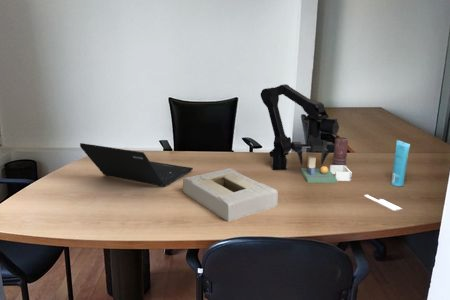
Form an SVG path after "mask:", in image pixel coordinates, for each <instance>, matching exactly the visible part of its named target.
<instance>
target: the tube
mask: <svg viewBox="0 0 450 300" xmlns="http://www.w3.org/2000/svg"><path fill="white" fill-rule="evenodd" d="M395 145H396V146H395V153H394V159H393V160H394V161H393V167H392V173H391V174H392V175H391V185H392V186H395V187H402V186H404V184H405V177H406V170H407V165H408V164H407V163H408V159H409V152H410V148H411V144H410V143H407V142H404V141H402V140H398V139H396V143H395Z"/></svg>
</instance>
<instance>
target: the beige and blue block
mask: <svg viewBox="0 0 450 300" xmlns="http://www.w3.org/2000/svg"><path fill="white" fill-rule="evenodd" d="M316 159H317V157H316V156H315V155H308V157H307V168H308V172H309V173H310V175H314V171H315V169H314V168H316V163H317V162H316V161H317V160H316Z"/></svg>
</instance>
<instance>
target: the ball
mask: <svg viewBox="0 0 450 300" xmlns="http://www.w3.org/2000/svg"><path fill="white" fill-rule="evenodd" d="M328 169H329V168H328V167H327V166H326V165H324V166H323V165H322V166H321V167H320V172H321V173H322V174H326V173H327V172H328Z"/></svg>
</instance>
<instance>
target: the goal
mask: <svg viewBox="0 0 450 300" xmlns="http://www.w3.org/2000/svg"><path fill="white" fill-rule="evenodd" d="M329 170H330V171H331V172H332V174H333V175H334V176H335V177H336V179H337V182H339V181H340V182H351V181H352V175H353V172H352V171H351V170H350V169H349V168H348V166H347V165H333V164H330V165H329Z"/></svg>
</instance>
